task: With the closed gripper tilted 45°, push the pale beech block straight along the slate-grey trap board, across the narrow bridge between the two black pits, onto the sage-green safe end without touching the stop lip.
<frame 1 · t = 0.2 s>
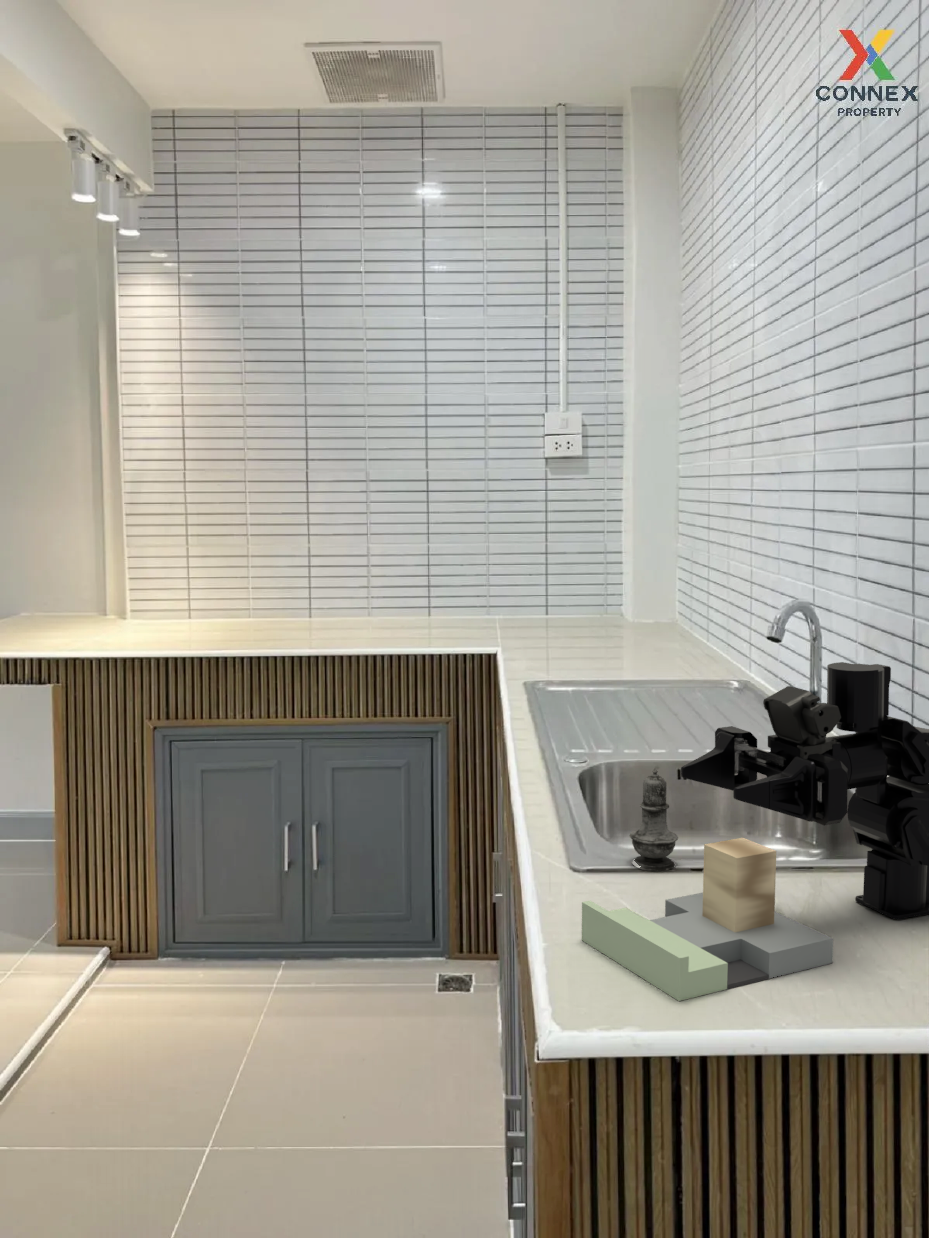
hand: (707, 782, 117), 16 cm above the worktop, tool horizontal, fingers open, 9 cm apart
salt shaker: (653, 865, 143), on the worktop
beech block: (737, 919, 118), point 2 cm above the worktop, touching trap board
trap board: (703, 951, 116), on the worktop
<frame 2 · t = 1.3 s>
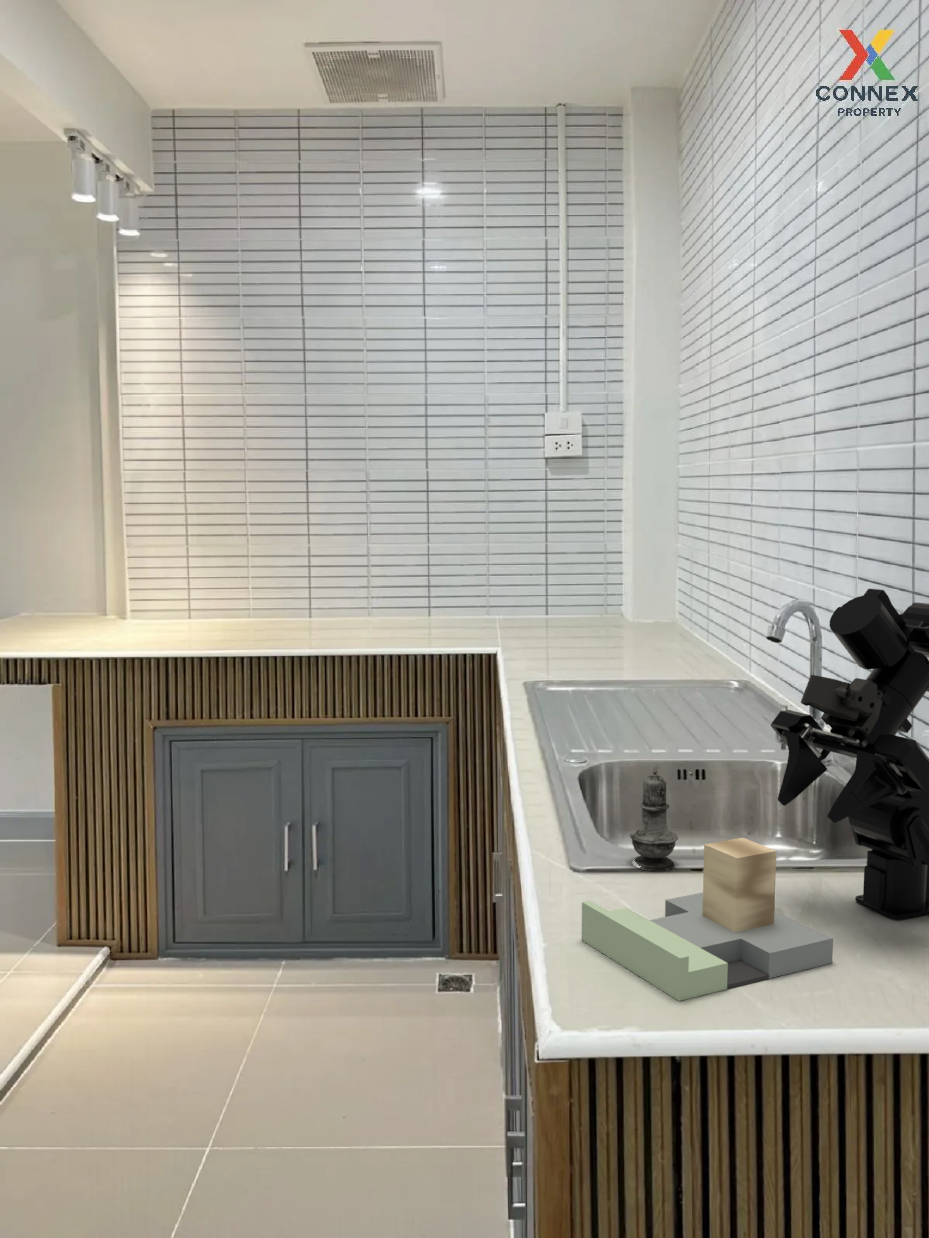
hand: (805, 811, 121), 13 cm above the worktop, tool tilted 45°, fingers open, 7 cm apart
nothing on the worktop moved.
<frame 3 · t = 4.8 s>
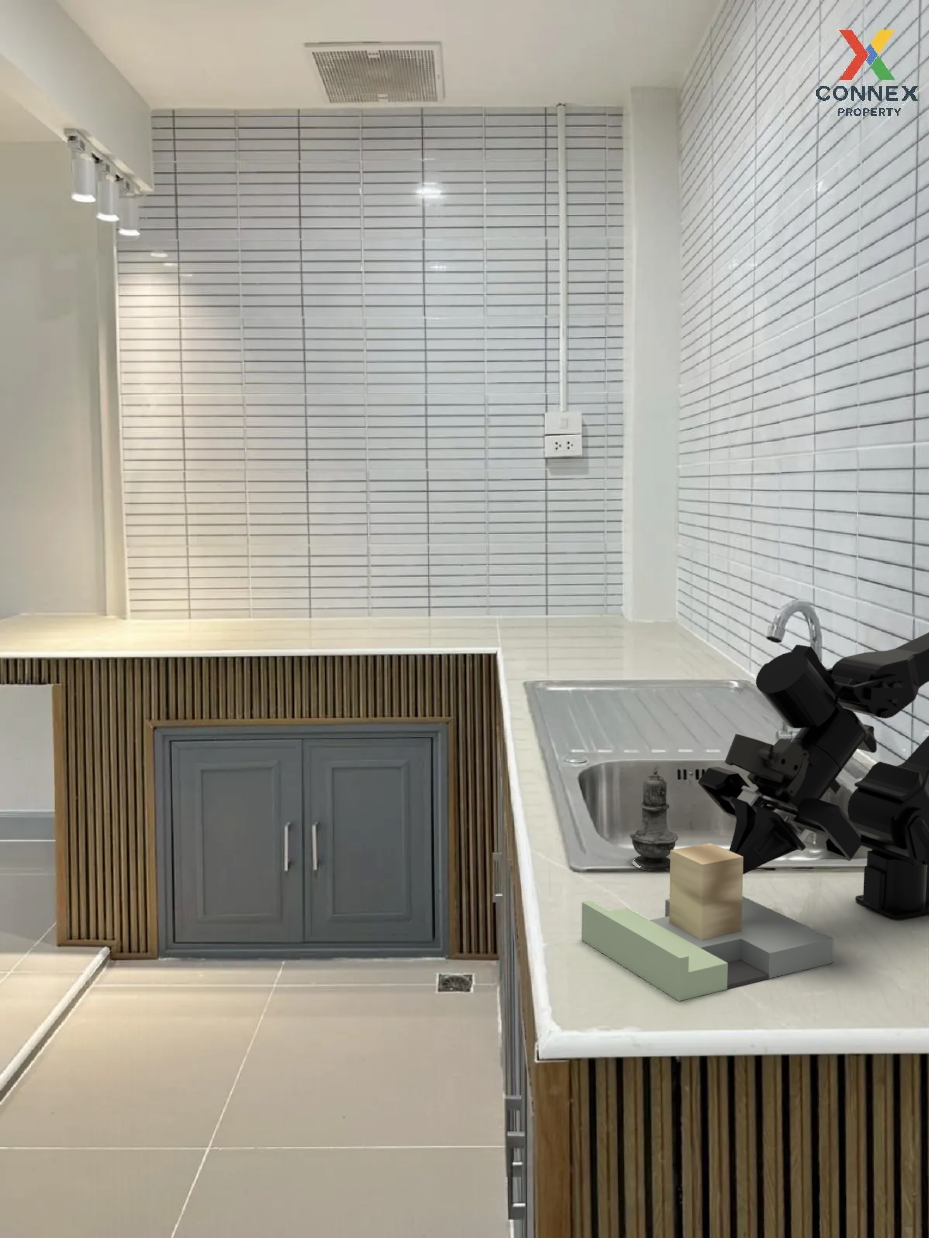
hand: (728, 875, 116), 7 cm above the worktop, tool tilted 45°, fingers closed, pressing on beech block
beech block: (705, 926, 116), point 3 cm above the worktop, touching gripper
everything else where it was.
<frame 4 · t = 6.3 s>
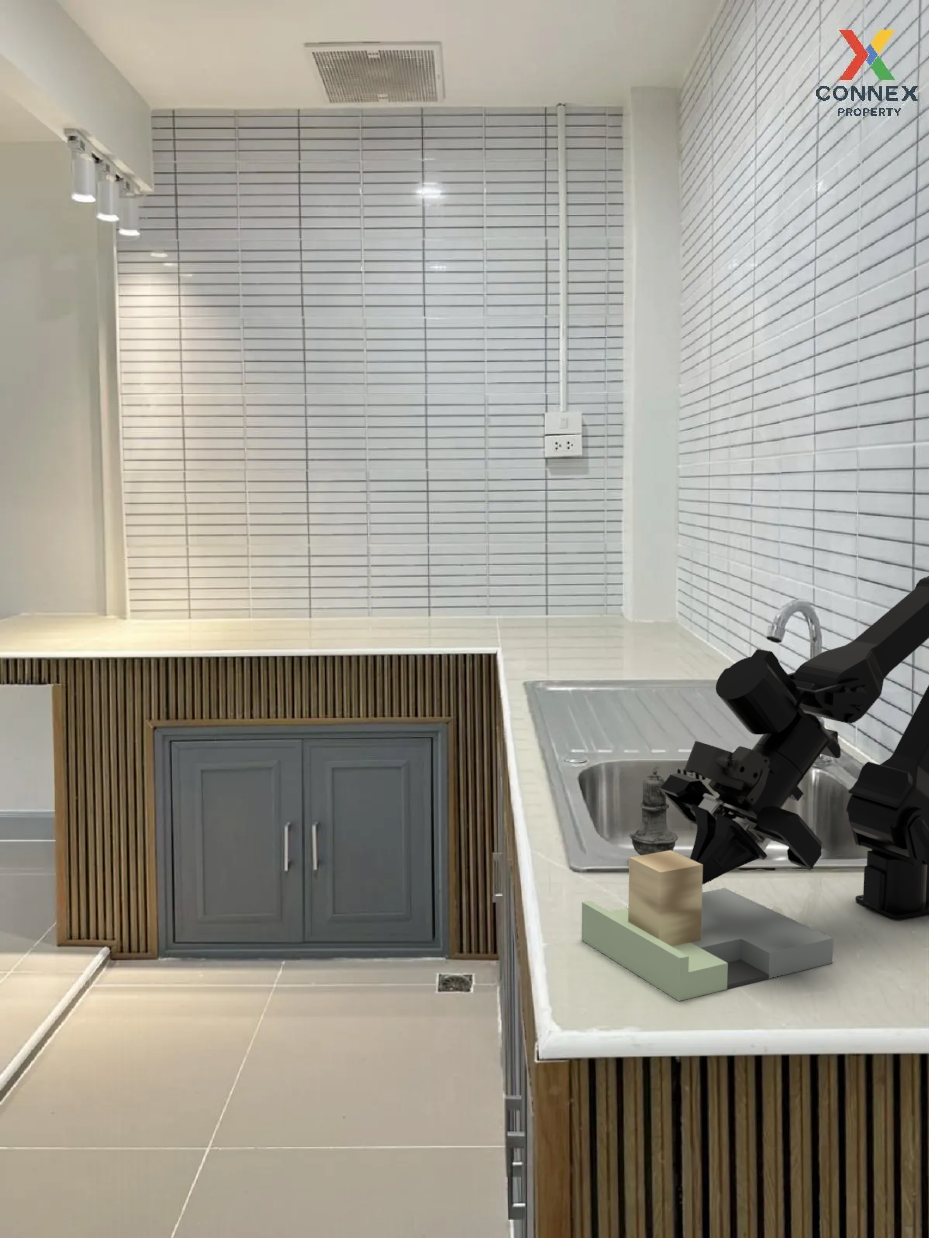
hand: (688, 885, 114), 7 cm above the worktop, tool tilted 45°, fingers closed
beech block: (664, 935, 114), point 2 cm above the worktop, touching trap board
everything else where it was.
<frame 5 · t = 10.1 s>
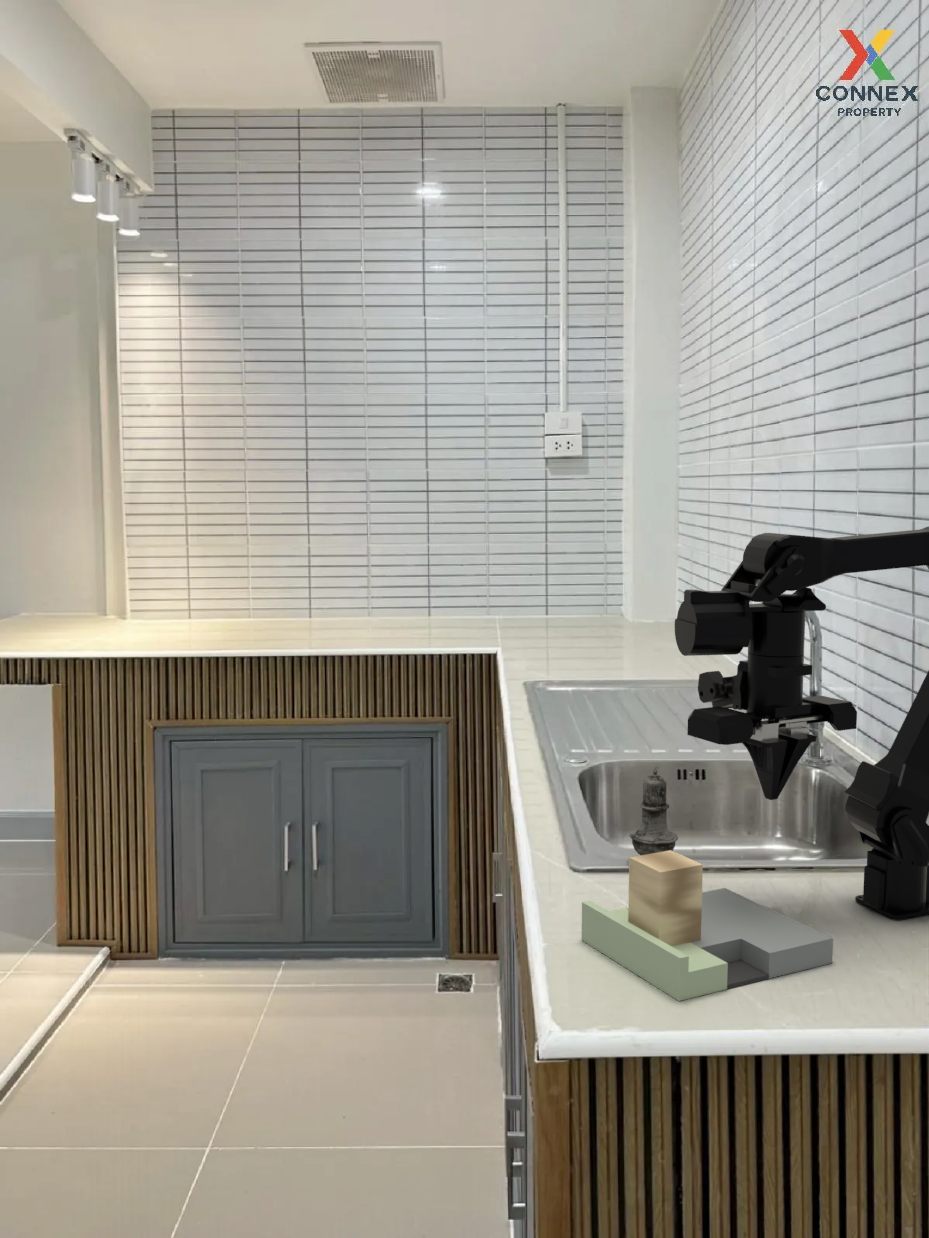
hand: (771, 798, 124), 13 cm above the worktop, tool pointing down, fingers closed
nothing on the worktop moved.
at the end: beech block 1.1 cm from the target spot on the trap board, point 2.5 cm above the trap board's base; beech block tilted 0°; beech block moved 9.2 cm from its start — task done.
